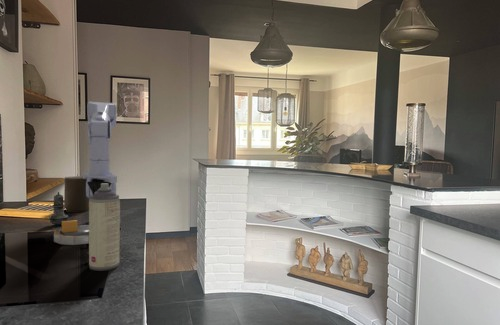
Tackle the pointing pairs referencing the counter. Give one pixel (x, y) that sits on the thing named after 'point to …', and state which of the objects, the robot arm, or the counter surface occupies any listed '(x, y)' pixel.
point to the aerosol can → (104, 229)
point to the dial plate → (70, 238)
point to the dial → (74, 228)
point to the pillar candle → (76, 194)
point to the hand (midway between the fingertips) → (99, 203)
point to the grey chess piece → (58, 211)
